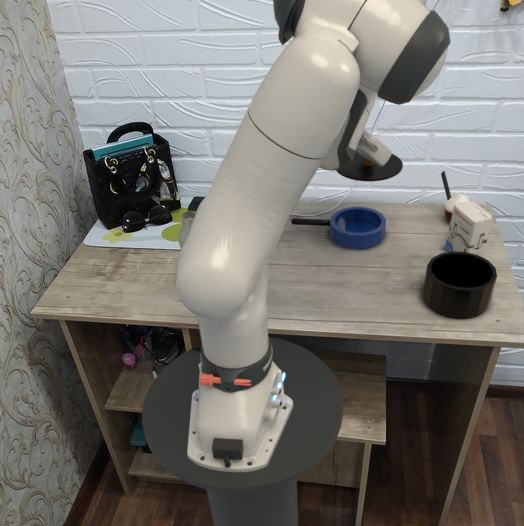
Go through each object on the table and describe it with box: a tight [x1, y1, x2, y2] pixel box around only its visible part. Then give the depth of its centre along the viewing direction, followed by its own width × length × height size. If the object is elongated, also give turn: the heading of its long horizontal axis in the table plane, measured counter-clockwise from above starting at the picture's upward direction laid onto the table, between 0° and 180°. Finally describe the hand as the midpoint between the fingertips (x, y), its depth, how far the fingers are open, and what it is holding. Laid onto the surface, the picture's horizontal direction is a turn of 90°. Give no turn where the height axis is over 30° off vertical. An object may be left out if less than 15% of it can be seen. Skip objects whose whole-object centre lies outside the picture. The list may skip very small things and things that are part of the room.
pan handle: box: [290, 217, 330, 227], centre depth 143 cm, size 2×11×2 cm, turn 81°
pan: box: [328, 206, 387, 251], centre depth 141 cm, size 14×14×4 cm
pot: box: [422, 251, 498, 320], centre depth 120 cm, size 14×14×8 cm
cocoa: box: [440, 170, 471, 223], centre depth 141 cm, size 10×6×12 cm, turn 32°
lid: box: [335, 153, 404, 182], centre depth 127 cm, size 15×15×6 cm
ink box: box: [444, 200, 494, 258], centre depth 130 cm, size 9×5×12 cm, turn 18°
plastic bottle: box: [177, 210, 197, 250], centre depth 121 cm, size 6×7×20 cm
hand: (370, 156), depth 128 cm, fingers closed on lid, 2 cm apart
